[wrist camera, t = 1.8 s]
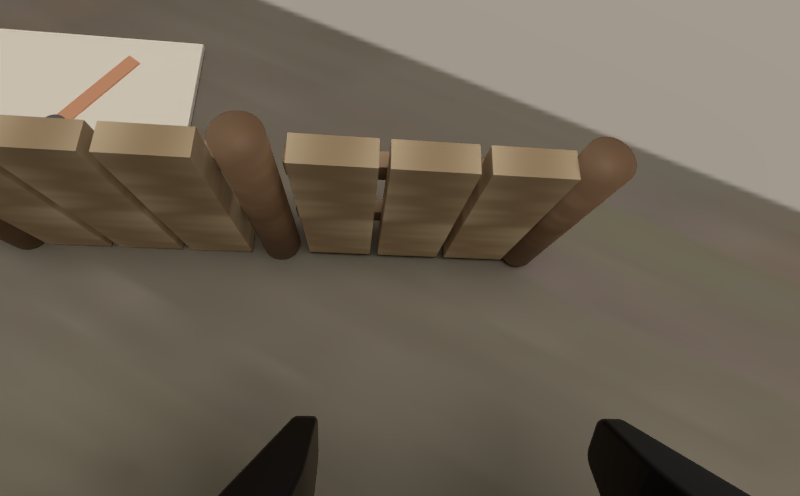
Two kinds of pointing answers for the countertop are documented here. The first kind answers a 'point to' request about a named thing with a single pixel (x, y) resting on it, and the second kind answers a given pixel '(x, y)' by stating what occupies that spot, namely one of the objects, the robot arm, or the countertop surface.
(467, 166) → the fence panel
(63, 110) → the card
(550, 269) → the countertop surface
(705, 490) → the robot arm
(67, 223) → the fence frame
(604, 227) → the countertop surface
